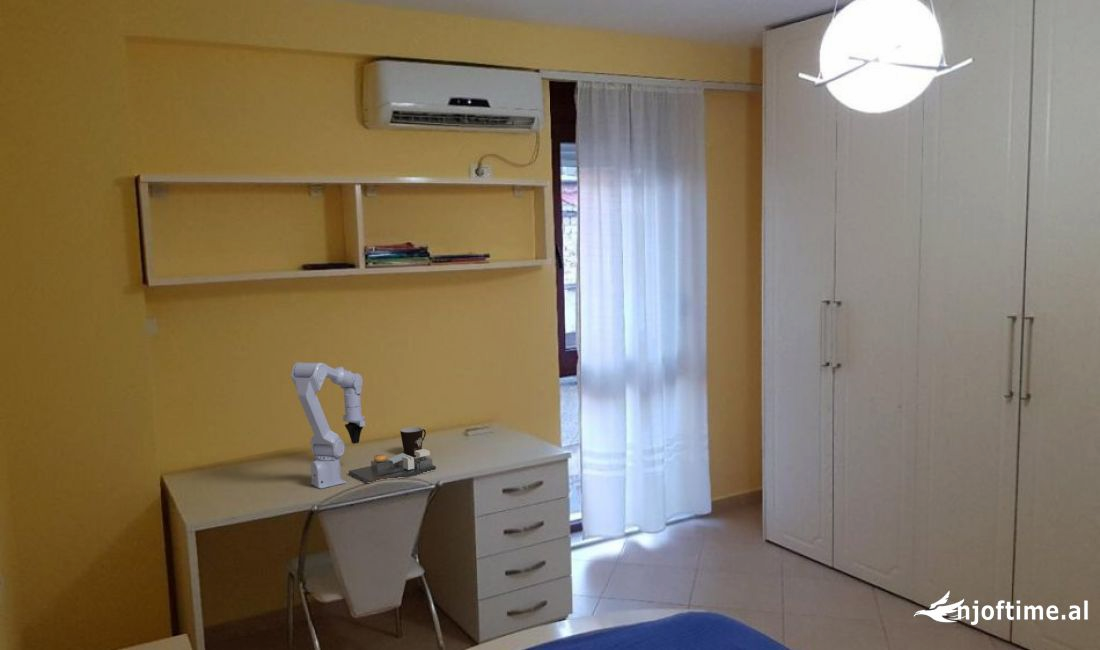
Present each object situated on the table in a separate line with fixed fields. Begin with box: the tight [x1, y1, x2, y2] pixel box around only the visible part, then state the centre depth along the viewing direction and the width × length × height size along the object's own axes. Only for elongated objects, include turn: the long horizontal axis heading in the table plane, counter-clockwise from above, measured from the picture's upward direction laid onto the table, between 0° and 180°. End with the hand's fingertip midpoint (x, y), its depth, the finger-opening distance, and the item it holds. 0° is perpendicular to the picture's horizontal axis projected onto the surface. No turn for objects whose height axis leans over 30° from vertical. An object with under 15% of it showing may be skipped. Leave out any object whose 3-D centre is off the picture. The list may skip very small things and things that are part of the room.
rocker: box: [387, 452, 407, 464], centre depth 300 cm, size 6×4×1 cm, turn 128°
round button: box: [373, 454, 388, 462], centre depth 296 cm, size 4×4×4 cm
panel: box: [348, 456, 437, 483], centre depth 294 cm, size 25×18×4 cm
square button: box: [414, 448, 431, 460], centre depth 296 cm, size 4×4×4 cm
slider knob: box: [402, 455, 415, 470], centre depth 292 cm, size 2×4×4 cm, turn 38°
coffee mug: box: [399, 426, 427, 458], centre depth 318 cm, size 12×9×10 cm
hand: (355, 443), depth 299 cm, fingers closed
